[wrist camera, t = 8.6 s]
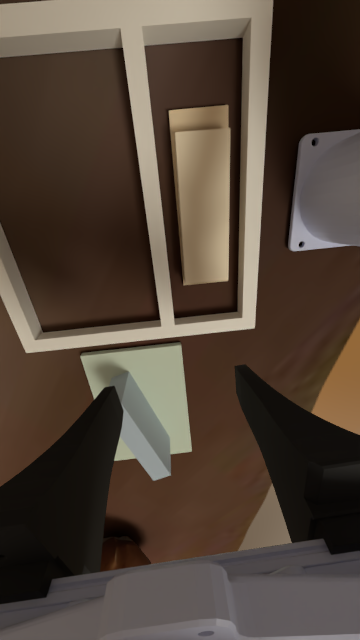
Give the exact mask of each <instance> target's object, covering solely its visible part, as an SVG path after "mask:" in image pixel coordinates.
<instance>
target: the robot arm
mask: <svg viewBox="0 0 360 640" xmlns="http://www.w3.org/2000/svg"><path fill="white" fill-rule="evenodd" d="M313 139H314V140H315V146H312V140H313ZM300 242H302V245H301V246H300V247H299V243H300ZM350 245H354V246H360V129H357V130H347V131H336V132H325V133H314V134H307V135H305V136H304V137H302V138H301V140H300V142H299V147H298V156H297V166H296V175H295V184H294V194H293V203H292V212H291V221H290V231H289V240H288V248H289V250H291V251H302V250H311V249H321V248H331V247H341V246H350ZM235 377H236V393H237V396H238V399H239V402H240V405H241V408H242V410H243V413H244V415H245V417H246V419H247V421H248V423H249V426H250V428H251V430H252V432H253V434H254V436H255V439H256V441H257V443H258V445H259V447H260V450H261V452H262V455H263V458H264V460H265V463H266V466H267V469H268V472H269V475H270V477H271V480H272V483H273V486H274V488H275V492H276V495H277V498H278V501H279V504H280V507H281V510H282V513H283V516H284V519H285V522H286V525H287V529H288V532H289V535H290V538H291V541H292V543H289V544H283V545H277V546H270V547H263V548H257V549H250V550H243V551H236V552H230V553H223V554H216V555H210V556H203V557H196V558H190V559H183V560H176V561H170V562H163V563H156V564H150V565H143V566H137V567H130V568H123V569H117V570H110V571H103V572H100V568H101V555H102V543H103V533H104V523H105V514H106V506H107V498H108V491H109V484H110V477H111V472H112V467H113V463H114V459H115V455H116V450H117V446H118V442H119V438H120V434H121V429H122V422H123V412H124V410H123V408H122V405H121V402H120V399H119V396H118V394H117V391H116V388H115V386H109V387H104V388H103V390H102V391H101V392H100V393H99V394H98V396H97V397H96V398H95V399H94V401H93V402H92V403H91V404H90V406H89V407H88V408H87V409H86V410H85V412H84V413H83V414H82V415H81V416H80V417H79V418H78V420H77V421H76V422H75V423H74V424H73V425H72V426H71V427H70V428H69V429H68V431H67V432H66V433H65V434H64V435H63V436H62V437H61V438H60V439H59V440H57V441H56V442H55V443H54V444H53V445H52V446H51V447H50V448H49V449H48V450H47V451H45V452H44V453H43V454H42V455H41V456H40V457H38V458H37V459H36V460H35V461H34V462H33V463H31V464H30V465H29V466H28V467H26V468H25V469H24V470H23V471H21V472H20V473H19V474H17V475H16V476H15V477H13V478H12V479H11V480H9V481H8V482H6V483H5V484H4V485H2V486H1V487H0V640H360V435H358V434H355V433H353V432H350V431H348V430H345V429H343V428H340V427H339V426H336V425H334V424H332V423H330V422H328V421H325V420H323V419H321V418H320V417H318V416H316V415H314V414H312V413H310V412H308V411H306V410H305V409H303V408H301V407H300V406H298V405H296V404H295V403H293V402H291V401H290V400H288V399H287V398H286V397H284V396H283V395H281V394H280V393H279V392H277V391H276V390H275V389H273V388H272V387H271V386H270V385H268V384H267V383H266V382H265V381H263V380H262V379H261V378H260V377H259V376H258V375H257V374H255V373H254V372H253V371H252V370H251V369H250V368H249V367H248V366H247V365H238V366H235Z"/></svg>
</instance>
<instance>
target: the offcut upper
mask: <svg viewBox="0 0 360 640" xmlns="http://www.w3.org/2000/svg"><path fill="white" fill-rule="evenodd" d="M174 140H175V154H176V168H177V183H178V197H179V212H180V226H181V241H182V255H183V269H184V281H185V284H187V283H198V282H209V281H220V280H228V265H229V192H230V128H224V129H211V130H197V131H184V132H175V138H174Z"/></svg>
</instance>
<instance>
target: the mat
mask: <svg viewBox="0 0 360 640" xmlns="http://www.w3.org/2000/svg"><path fill="white" fill-rule="evenodd" d="M80 357H81V360H82V363H83V366H84V369H85V372H86V375H87V378H88V382H89V385H90V388H91V391H92V394H93V397H94V399H95V398H96V397H97V396H98V394H99V393H100V392H101V391H102V390H103V388H104V387H109V384H110V381H111V378H112V377H115V376H118V375H121V374H123V373H126V372H130V374H131V375H132V377H133V379H134V380H135V382H136V383H137V385H138V387H139V388H140V390H141V391H142V393H143V395H144V396H145V398H146V400H147V401H148V403H149V404H150V406H151V408H152V409H153V411H154V413H155V414H156V416H157V417H158V419H159V421H160V422H161V424H162V426H163V427H164V429H165V430H166V432H167V434H168V435H169V437H170V454H176V453H184V452H192V448H191V438H190V428H189V418H188V408H187V398H186V389H185V379H184V369H183V359H182V349H181V342H178V343H169V344H160V345H151V346H141V347H132V348H123V349H114V350H105V351H96V352H87V353H82V354H81V356H80ZM134 458H136V457H135V456H134V454H133V453H132V452H131V450H130V449H129V448H128V446H127V445H126V444H125V442H124V441H123V440H122V439H121V437H120V438H119V442H118V446H117V450H116V455H115V459H114V461H117V460H125V459H134Z"/></svg>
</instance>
